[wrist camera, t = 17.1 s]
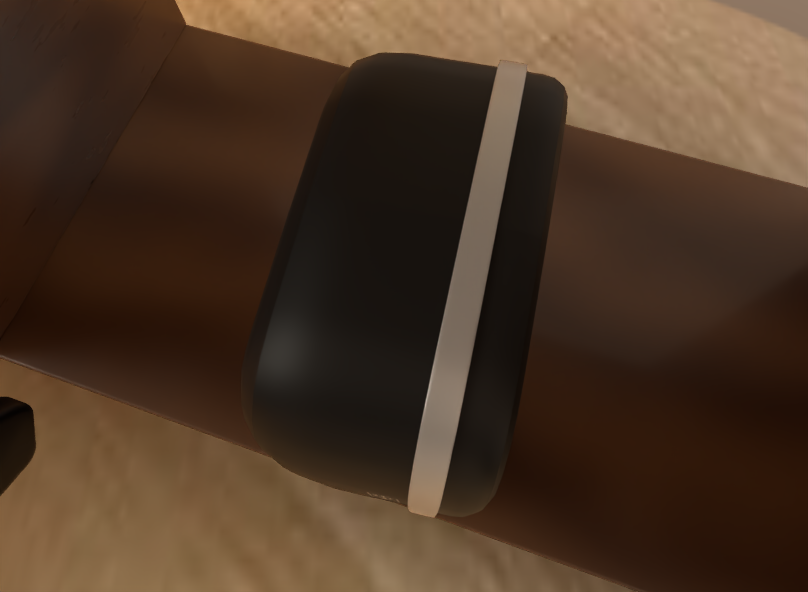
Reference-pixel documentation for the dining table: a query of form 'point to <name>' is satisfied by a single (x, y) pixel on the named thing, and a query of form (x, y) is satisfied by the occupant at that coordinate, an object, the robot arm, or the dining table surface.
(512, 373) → the black rounded piece
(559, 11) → the dining table surface
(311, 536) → the dining table surface
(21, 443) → the robot arm
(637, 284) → the brown wooden cubby shelf
